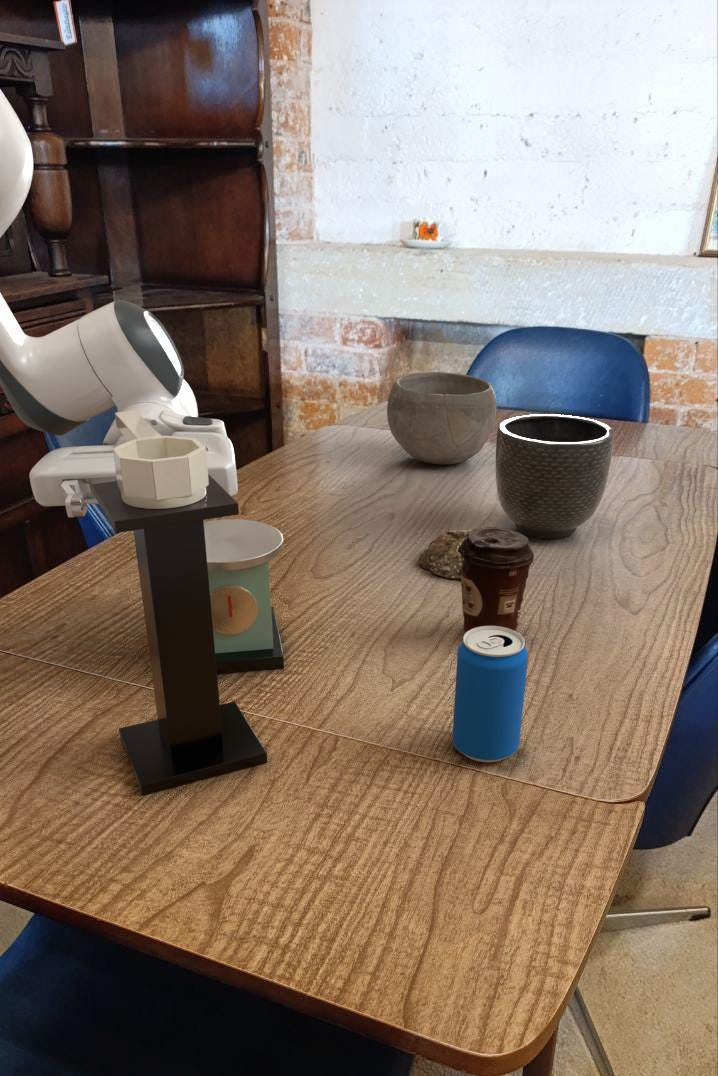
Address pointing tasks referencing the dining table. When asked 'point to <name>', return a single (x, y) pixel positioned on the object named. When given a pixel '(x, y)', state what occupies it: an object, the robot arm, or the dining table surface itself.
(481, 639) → the beverage can
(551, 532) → the planter
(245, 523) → the scale
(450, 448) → the bowl
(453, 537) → the brown rock
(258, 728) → the dining table surface
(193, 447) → the handled bowl
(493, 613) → the coffee cup
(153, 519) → the shelf stand
